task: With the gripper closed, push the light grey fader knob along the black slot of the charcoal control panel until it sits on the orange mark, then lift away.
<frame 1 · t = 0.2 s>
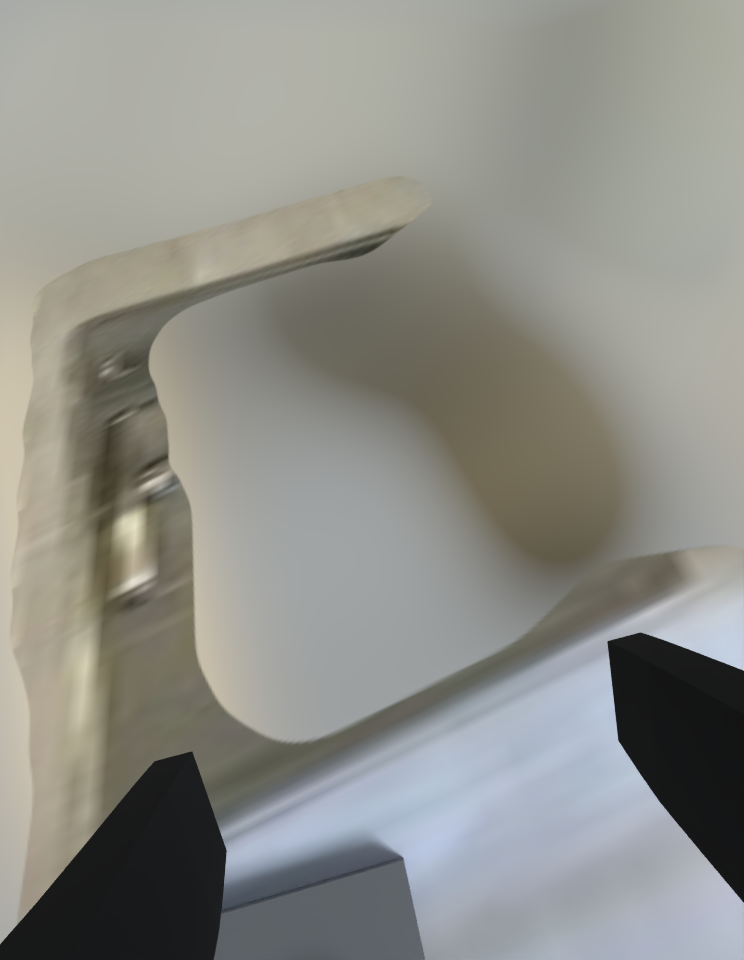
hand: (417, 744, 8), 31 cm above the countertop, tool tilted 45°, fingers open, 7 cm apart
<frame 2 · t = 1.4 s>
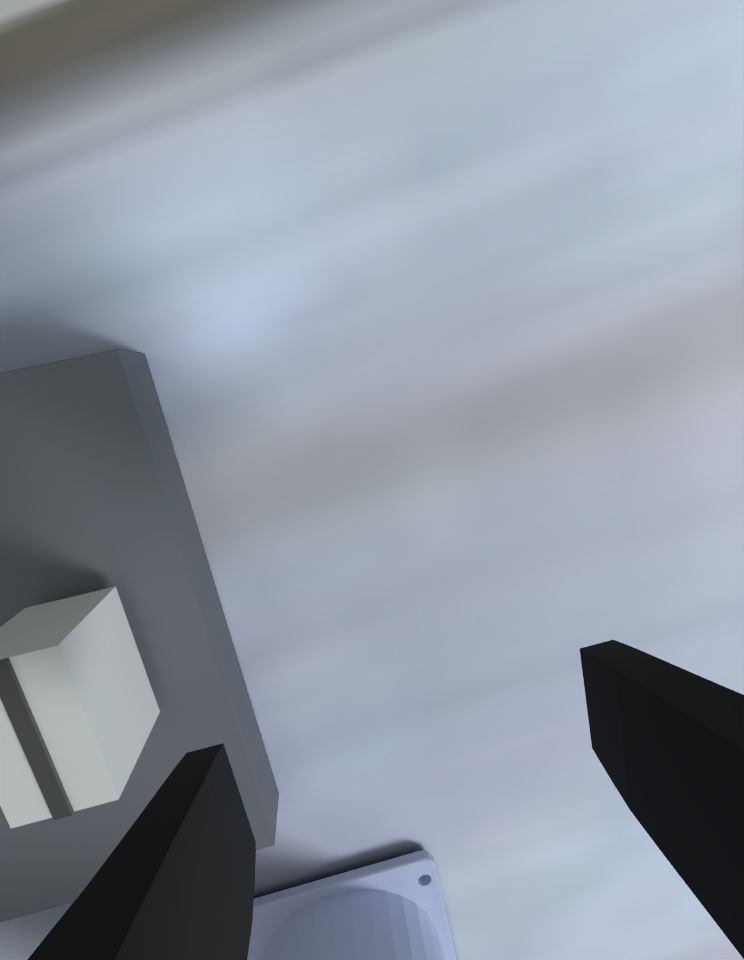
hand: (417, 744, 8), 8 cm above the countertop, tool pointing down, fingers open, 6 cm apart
fader: (67, 697, 12), point 4 cm above the countertop, slide at 0.0 cm
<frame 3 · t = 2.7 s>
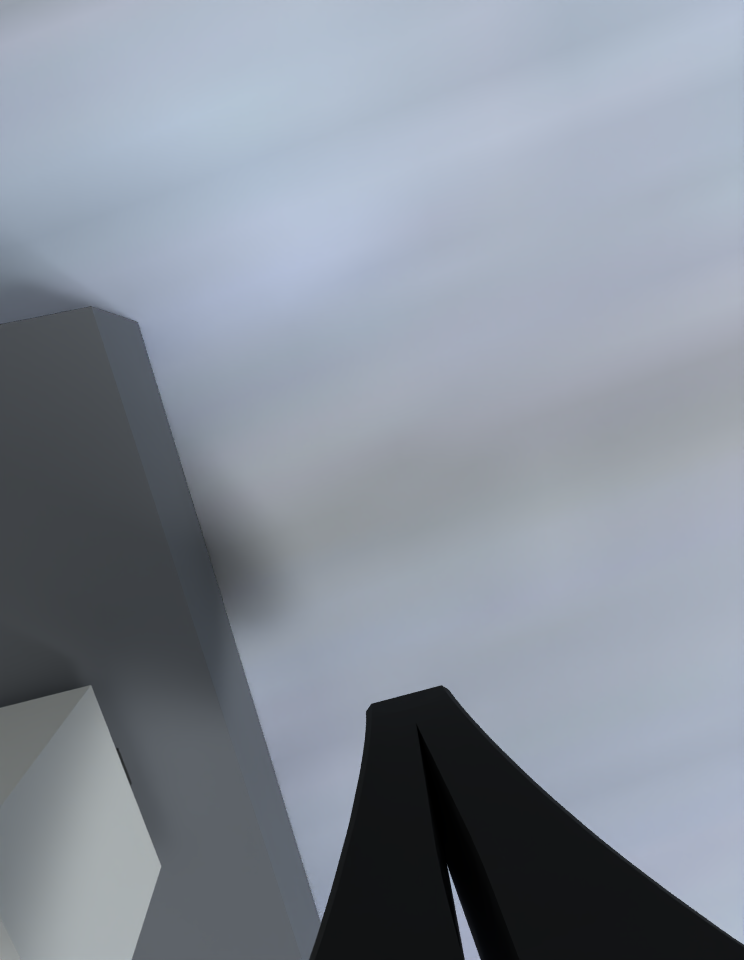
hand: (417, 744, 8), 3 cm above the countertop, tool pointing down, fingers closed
fader: (6, 887, 7), point 4 cm above the countertop, slide at 0.0 cm
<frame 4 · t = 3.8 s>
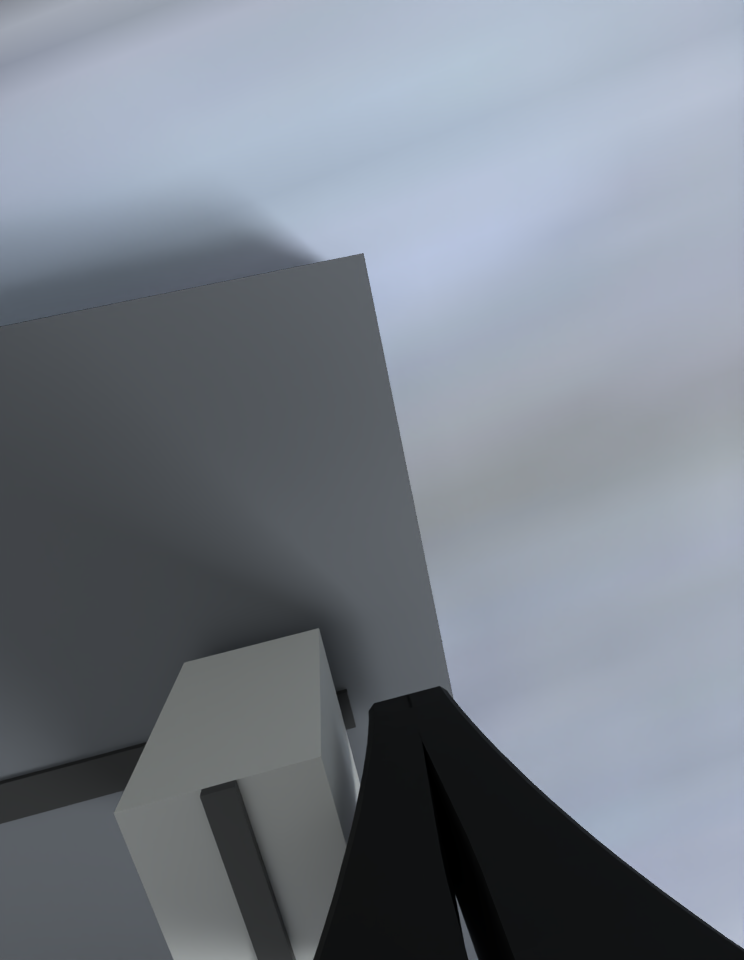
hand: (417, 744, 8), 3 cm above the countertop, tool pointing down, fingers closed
fader: (273, 813, 7), point 4 cm above the countertop, slide at 0.4 cm, touching gripper
panel: (87, 717, 11), on the countertop
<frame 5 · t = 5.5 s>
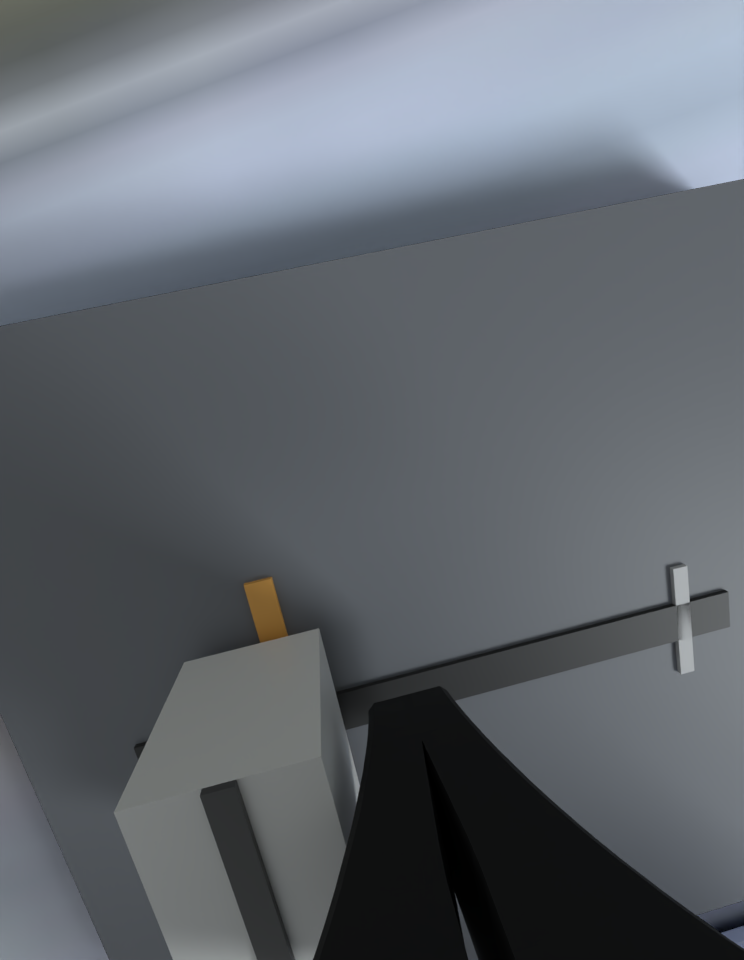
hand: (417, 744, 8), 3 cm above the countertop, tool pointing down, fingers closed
fader: (273, 813, 7), point 4 cm above the countertop, slide at 8.3 cm, touching gripper
panel: (424, 630, 11), on the countertop
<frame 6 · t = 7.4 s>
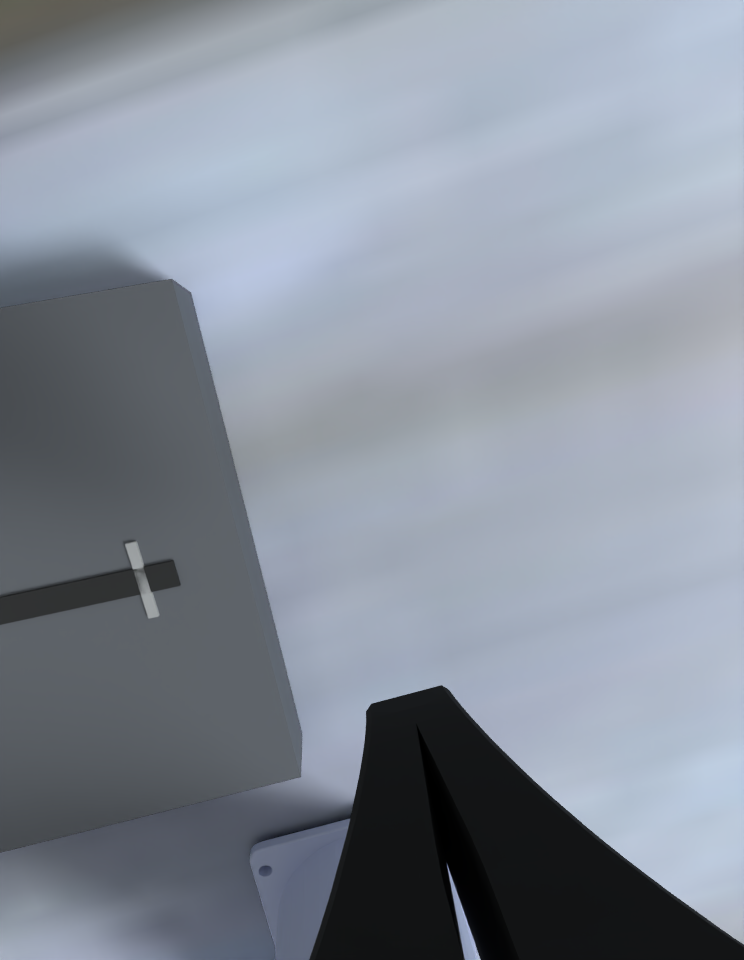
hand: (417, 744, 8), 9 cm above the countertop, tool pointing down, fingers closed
panel: (10, 588, 16), on the countertop
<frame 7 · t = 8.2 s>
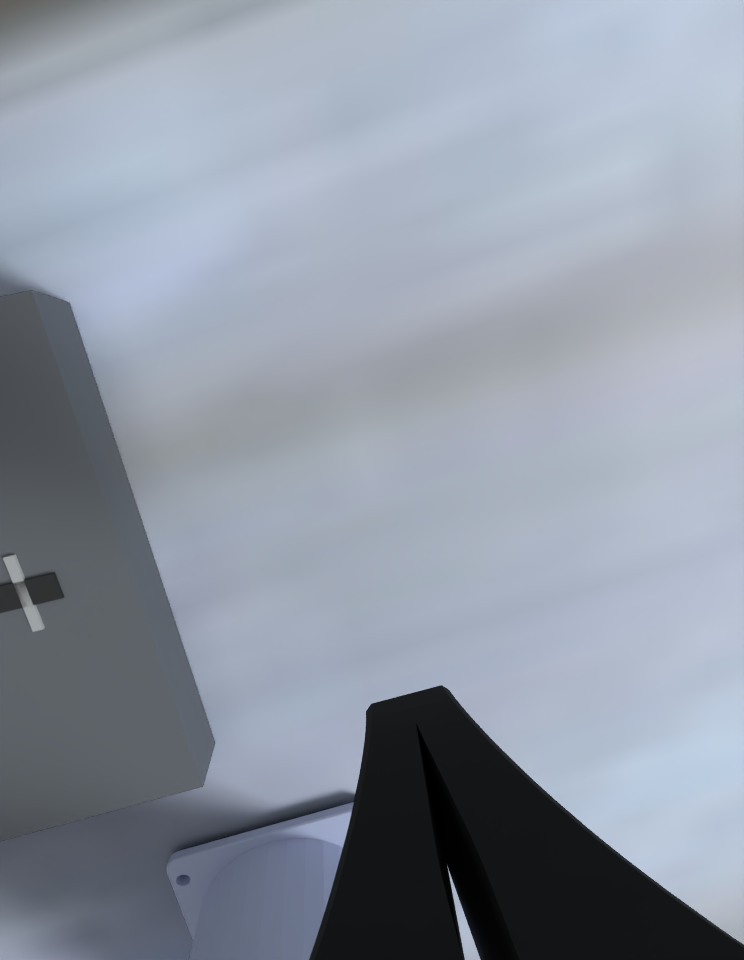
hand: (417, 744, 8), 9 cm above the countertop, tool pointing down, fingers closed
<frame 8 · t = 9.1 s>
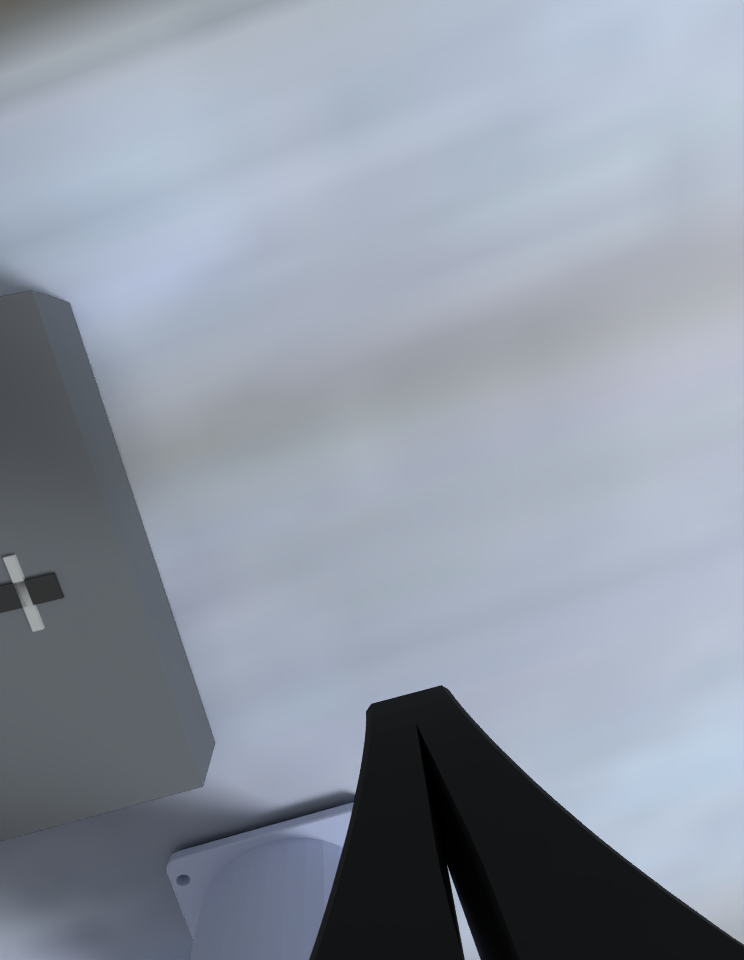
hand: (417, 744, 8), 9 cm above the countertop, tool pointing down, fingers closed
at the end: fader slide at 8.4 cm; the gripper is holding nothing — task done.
